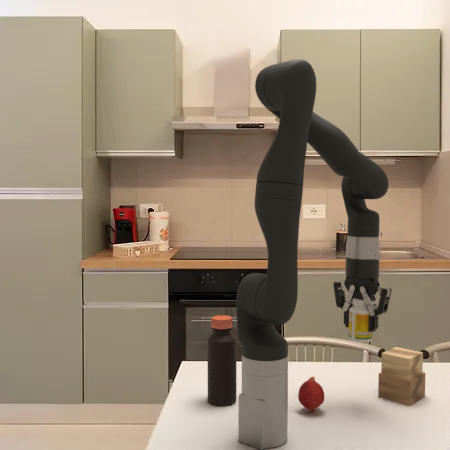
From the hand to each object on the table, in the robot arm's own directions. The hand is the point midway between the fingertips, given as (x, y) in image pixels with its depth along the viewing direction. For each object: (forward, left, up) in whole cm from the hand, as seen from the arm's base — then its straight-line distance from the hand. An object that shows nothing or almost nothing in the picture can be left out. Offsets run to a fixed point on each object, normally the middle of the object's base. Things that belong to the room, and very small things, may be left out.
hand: (360, 328), depth 134 cm
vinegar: (-20, +25, -18) cm, 37 cm away
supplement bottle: (0, 0, -3) cm, 3 cm away
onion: (-11, +6, -18) cm, 22 cm away
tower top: (+11, -5, -12) cm, 17 cm away
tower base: (+11, -5, -18) cm, 22 cm away
